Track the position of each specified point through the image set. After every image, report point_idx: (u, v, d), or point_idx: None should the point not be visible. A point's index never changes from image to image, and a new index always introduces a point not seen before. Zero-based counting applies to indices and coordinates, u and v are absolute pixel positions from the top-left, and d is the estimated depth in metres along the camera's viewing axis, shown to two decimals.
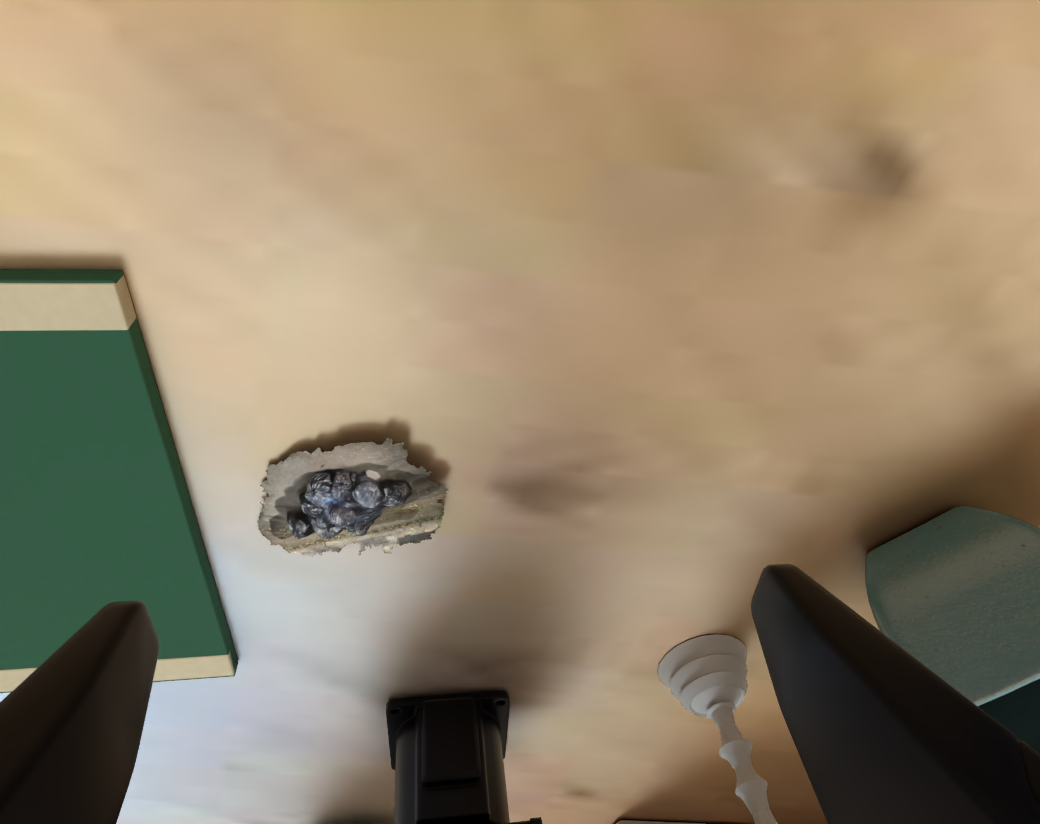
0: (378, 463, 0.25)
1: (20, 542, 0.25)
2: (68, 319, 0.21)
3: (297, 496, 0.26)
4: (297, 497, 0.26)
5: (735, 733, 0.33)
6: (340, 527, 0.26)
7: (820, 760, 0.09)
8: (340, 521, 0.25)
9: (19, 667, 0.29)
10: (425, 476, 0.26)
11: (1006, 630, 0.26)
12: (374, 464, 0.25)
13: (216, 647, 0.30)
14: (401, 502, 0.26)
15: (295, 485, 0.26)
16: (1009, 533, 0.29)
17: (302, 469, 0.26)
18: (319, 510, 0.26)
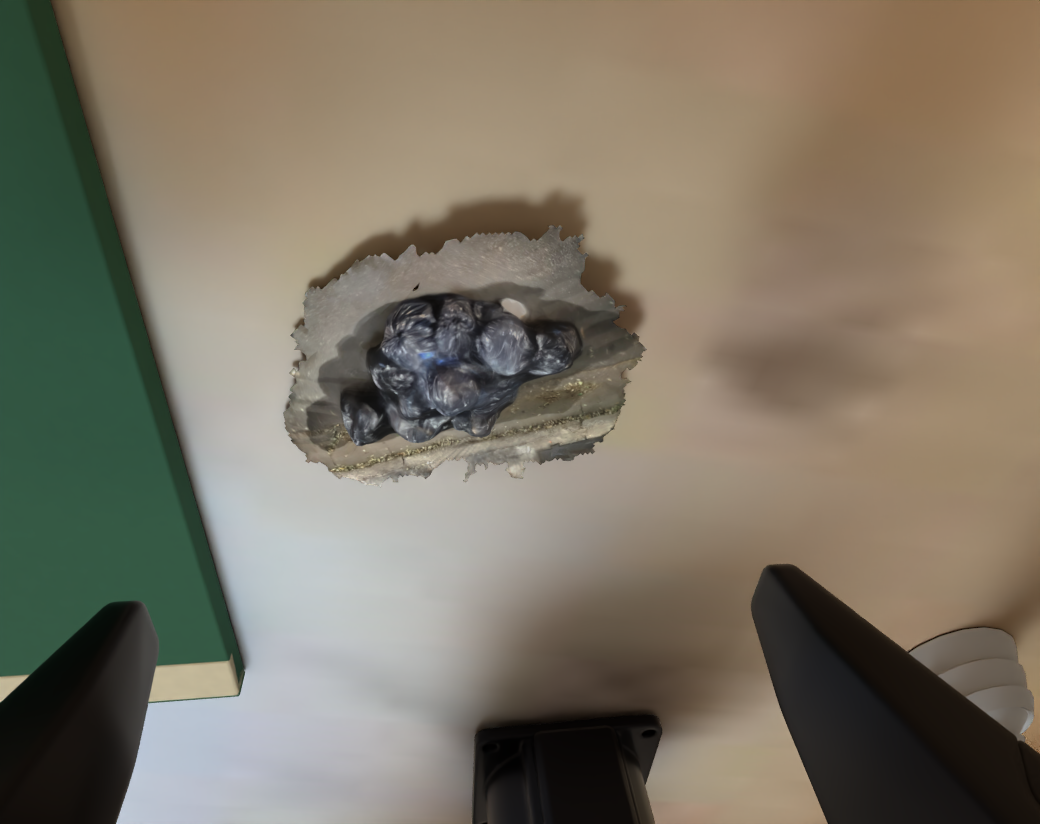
0: (526, 282, 0.13)
1: None
2: None
3: (362, 357, 0.14)
4: (362, 360, 0.14)
5: None
6: (450, 412, 0.13)
7: (820, 760, 0.09)
8: (452, 398, 0.13)
9: None
10: (609, 318, 0.13)
11: None
12: (520, 286, 0.13)
13: (208, 648, 0.18)
14: (566, 366, 0.13)
15: (358, 334, 0.13)
16: None
17: (375, 297, 0.13)
18: (407, 379, 0.13)
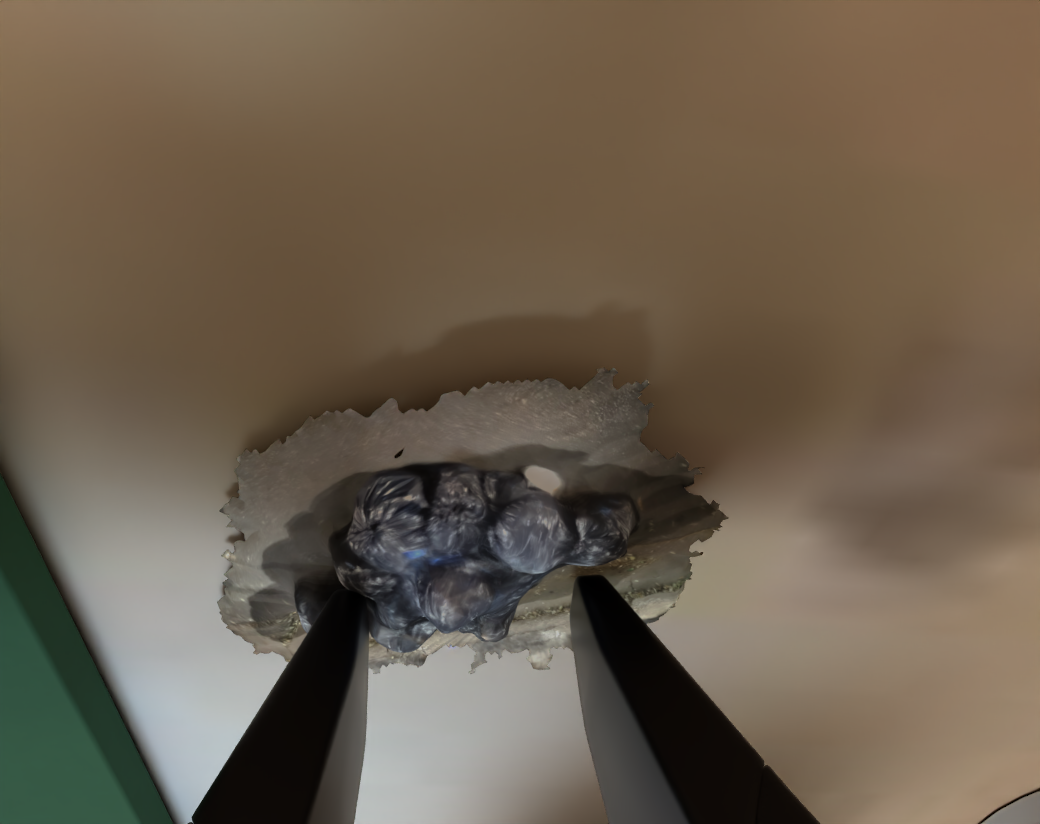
0: (563, 444, 0.09)
1: None
2: None
3: (323, 540, 0.09)
4: (324, 543, 0.09)
5: None
6: (450, 631, 0.09)
7: (607, 781, 0.09)
8: (454, 618, 0.09)
9: None
10: (679, 484, 0.09)
11: None
12: (551, 448, 0.09)
13: None
14: (618, 556, 0.09)
15: (317, 510, 0.09)
16: None
17: (339, 465, 0.09)
18: (387, 582, 0.09)
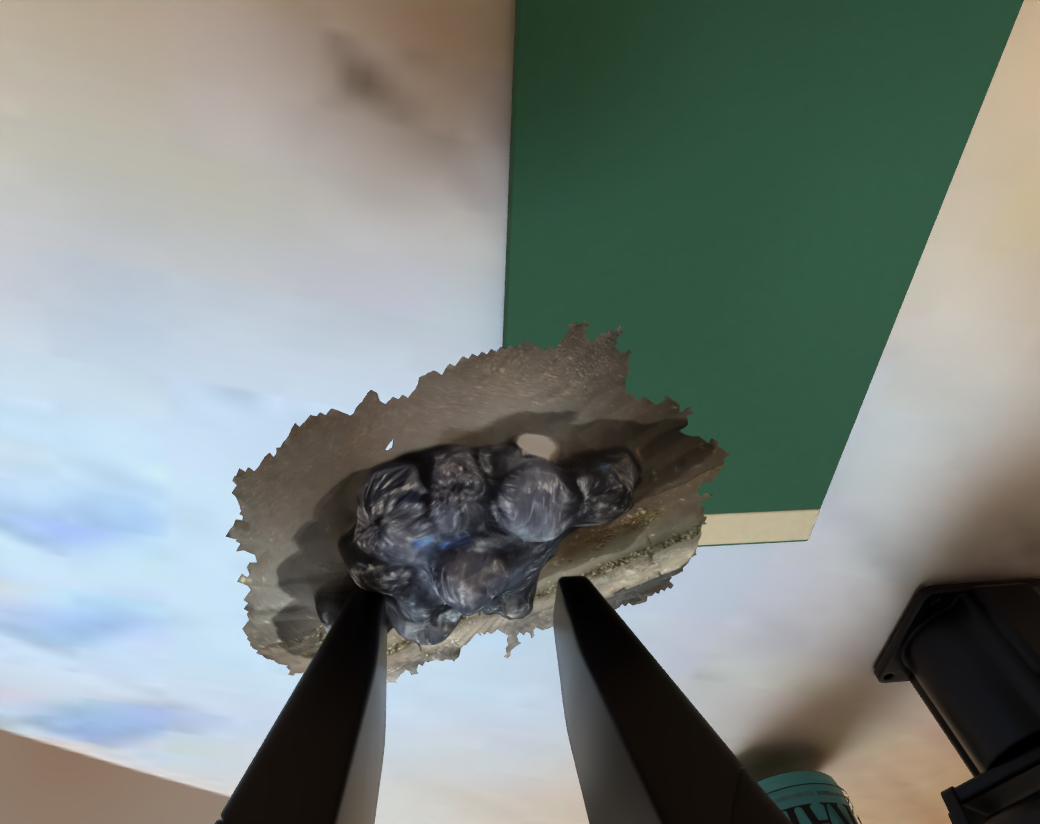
0: (549, 407, 0.09)
1: (702, 326, 0.20)
2: None
3: (333, 547, 0.09)
4: (335, 550, 0.09)
5: None
6: (472, 613, 0.09)
7: (588, 783, 0.09)
8: (473, 597, 0.09)
9: None
10: (675, 427, 0.09)
11: None
12: (540, 414, 0.09)
13: (815, 497, 0.24)
14: (626, 509, 0.09)
15: (321, 517, 0.09)
16: None
17: (333, 468, 0.09)
18: (403, 576, 0.09)
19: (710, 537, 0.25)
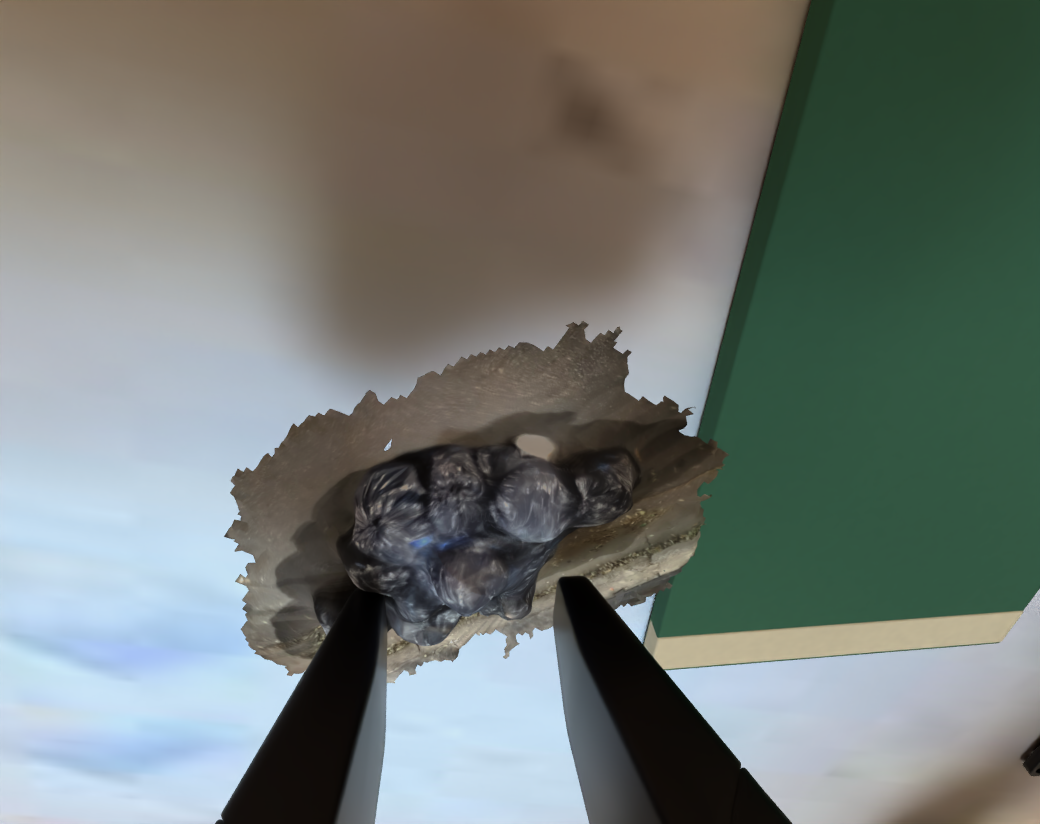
0: (547, 407, 0.09)
1: (950, 417, 0.16)
2: None
3: (332, 547, 0.09)
4: (333, 550, 0.09)
5: None
6: (471, 613, 0.09)
7: (588, 783, 0.09)
8: (471, 598, 0.09)
9: (766, 627, 0.20)
10: (674, 427, 0.09)
11: None
12: (537, 415, 0.09)
13: (1022, 599, 0.21)
14: (625, 510, 0.09)
15: (319, 518, 0.09)
16: None
17: (332, 468, 0.09)
18: (400, 576, 0.09)
19: (893, 643, 0.21)
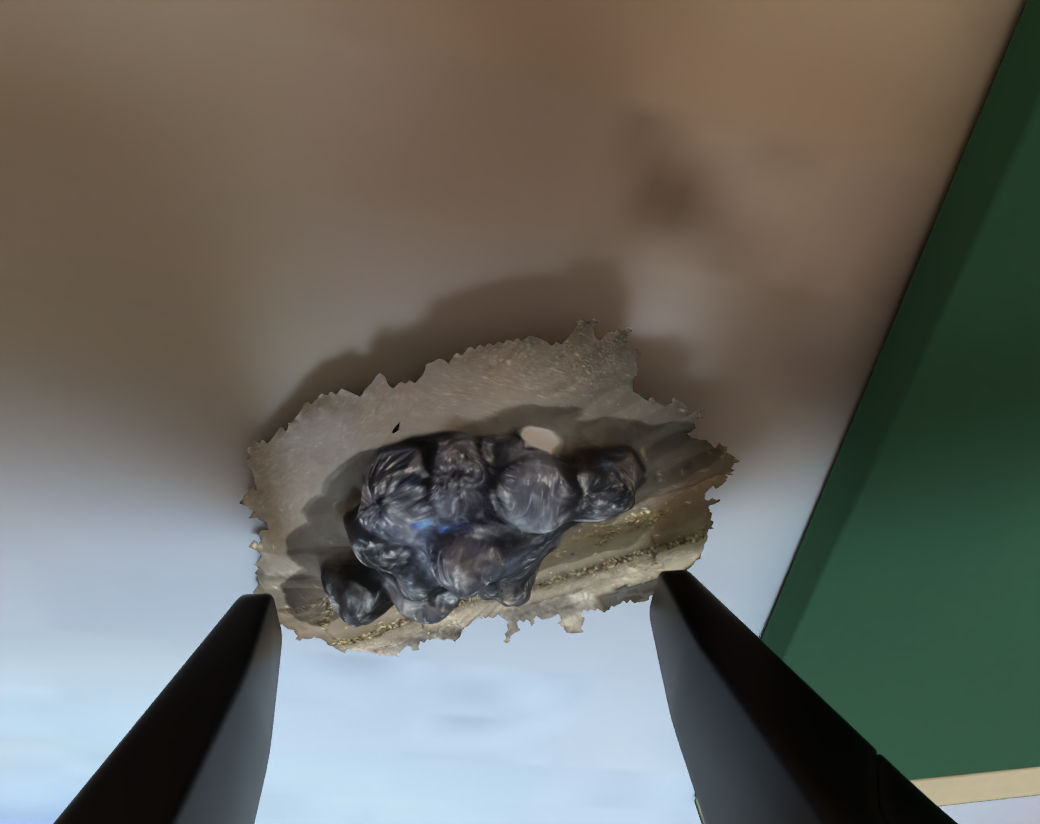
0: (554, 401, 0.09)
1: None
2: None
3: (339, 521, 0.10)
4: (341, 525, 0.10)
5: None
6: (466, 597, 0.09)
7: (702, 772, 0.09)
8: (466, 583, 0.09)
9: None
10: (681, 430, 0.09)
11: None
12: (544, 408, 0.09)
13: None
14: (626, 508, 0.09)
15: (329, 493, 0.10)
16: None
17: (342, 445, 0.09)
18: (402, 554, 0.09)
19: (998, 792, 0.17)
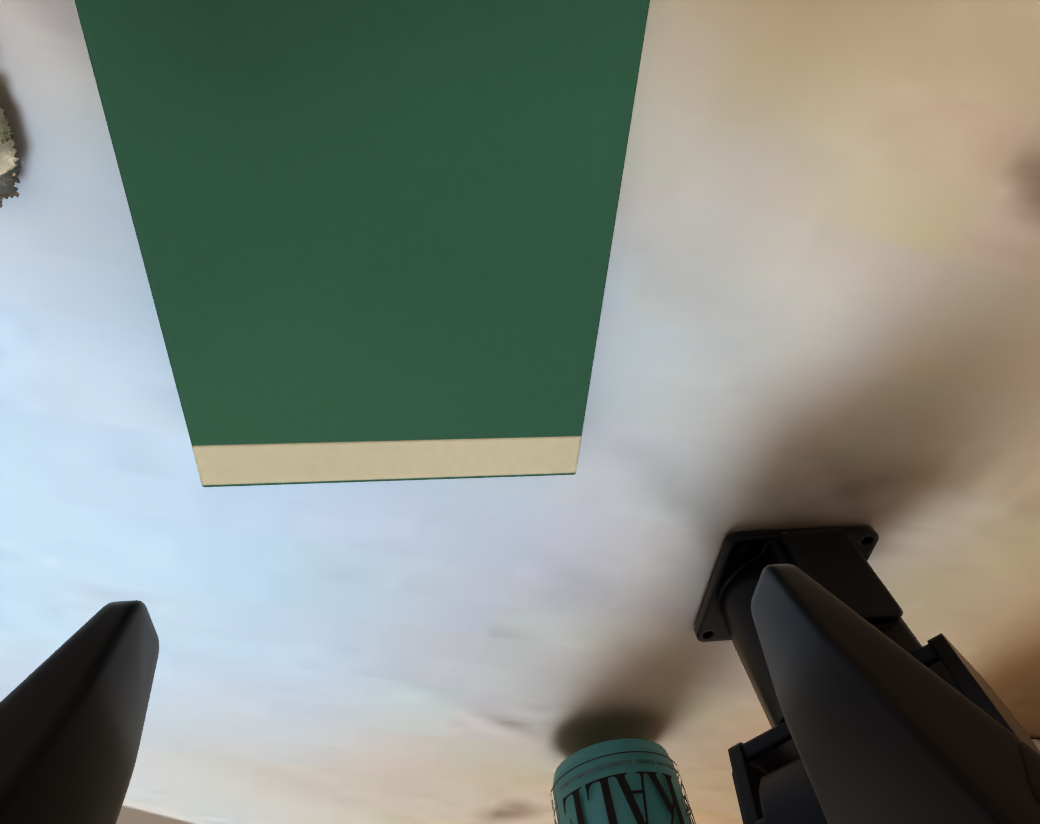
0: None
1: (378, 196, 0.17)
2: None
3: None
4: None
5: None
6: None
7: (820, 760, 0.09)
8: None
9: (305, 440, 0.20)
10: None
11: None
12: None
13: (572, 422, 0.21)
14: None
15: None
16: None
17: None
18: None
19: (457, 468, 0.22)
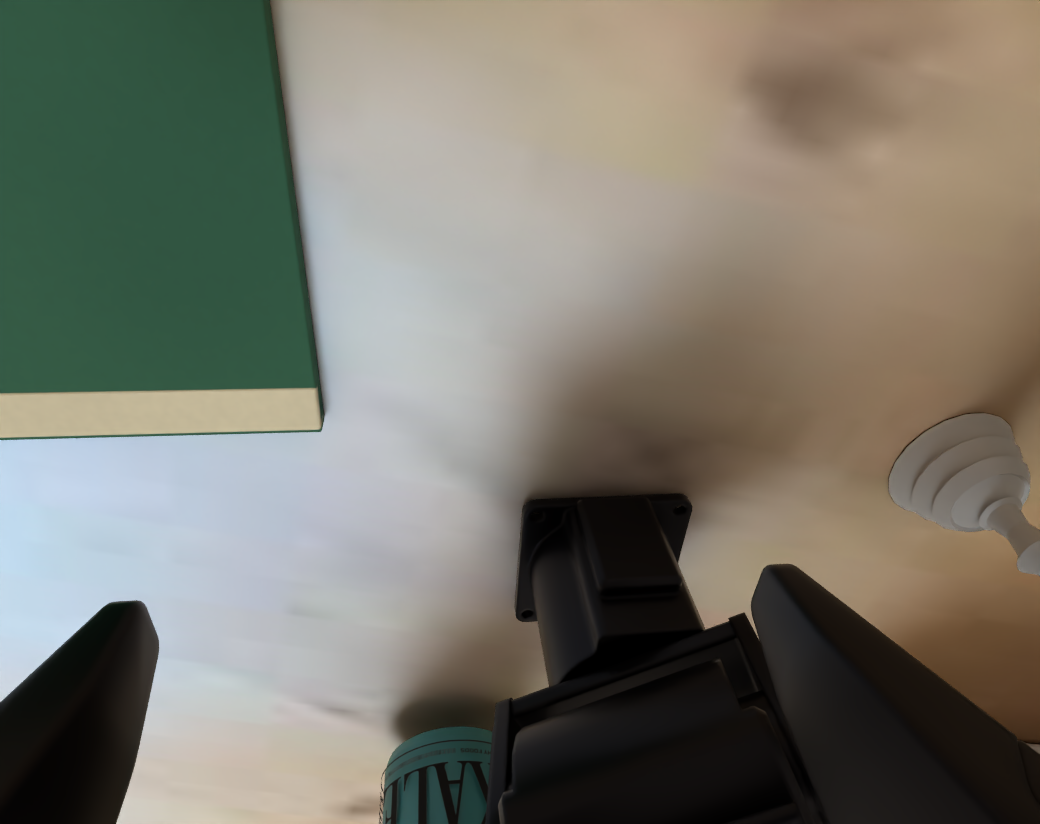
0: None
1: None
2: None
3: None
4: None
5: None
6: None
7: (820, 760, 0.09)
8: None
9: (0, 390, 0.19)
10: None
11: None
12: None
13: (299, 371, 0.20)
14: None
15: None
16: None
17: None
18: None
19: (184, 423, 0.20)
